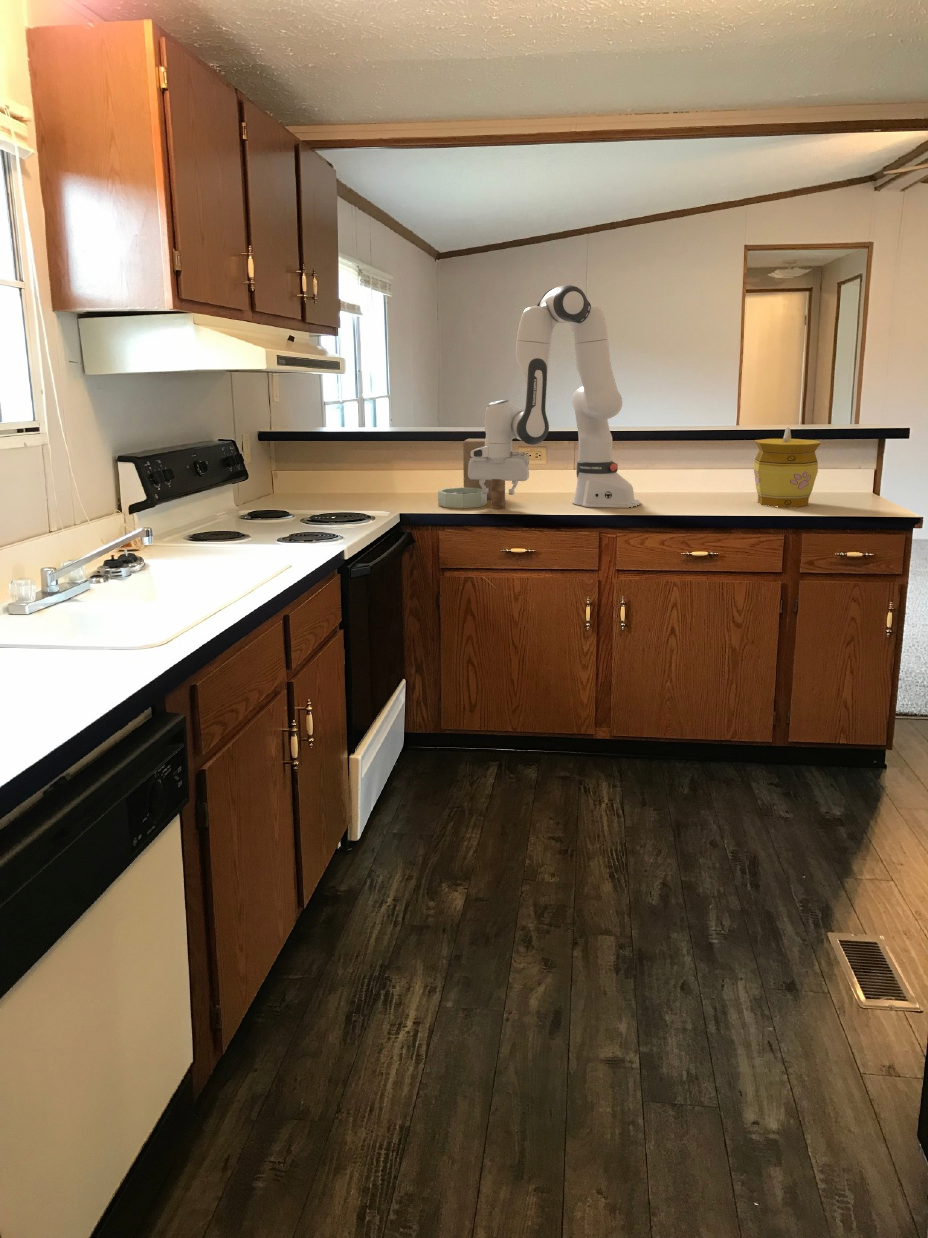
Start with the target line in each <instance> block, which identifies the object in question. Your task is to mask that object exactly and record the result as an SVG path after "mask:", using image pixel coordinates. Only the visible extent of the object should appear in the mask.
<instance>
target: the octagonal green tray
mask: <svg viewBox="0 0 928 1238" xmlns="http://www.w3.org/2000/svg"><path fill="white" fill-rule="evenodd" d="M455 492H470V493H468V494H455ZM487 501H488V499H487V494H483V489H480V488H464V487H462V486H461V487H450V488H448V487H447V488H442V489H440V490H438V491H437V502H438V503H437V505H438V506H440V507H444V508H452V509H453V508H454V509H455V508H456V509H469V508H480V507H483V506H486V505H487V504H488V502H487Z"/></svg>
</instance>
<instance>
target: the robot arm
mask: <svg viewBox="0 0 928 1238" xmlns="http://www.w3.org/2000/svg"><path fill="white" fill-rule="evenodd" d="M564 323H568V325H569V326H570V327H571V330H572V333H573V335H572V336H573V348H574V358H575V359H574V360H575V367H576V371H577V372H578V374H579V378H580V380H581V385H582V386H579V388H577V389H576V390H575V391H574V393H573V394H572V397H571V404H572V407H573V410H574V414H575V422H576V427H577V434H578V456H577V457H578V459H577V461H576V467H575V468H576V473H575V474H576V479H577V480H576V486H575V493H574V497H573V500H572V504H575V505H578V506H583V507H584V508H617V509H618V508H625V509H626V508H627V509H628V508H629V507H631V508H634V507H633V506H636V507H638V506H637V505H639V504H640V503H641V500H640V499H638V498H635V493H634V492H635V491H634V487H633V485H632V483H630V482H629V481H628V480H626V479H625V478H624V477H623V476H622V475H620V474H619V473H618V467H619V464H618V462H617V463H616V462H615V461H613V458H612V457H613V456H612V455H613V436H612V433H611V430H610V426H609V421H608V420H609V419H611V418H613V417H615V416H617V415H618V414H619V413H620V411H621V410H622V407H623V398H622V395H621V393H620V391H619V390H618V387H617V383H616V379H615V376H614V372H613V369H612V364H611V356H610V345H609V343H610V342H609V334H608V326H607V322H606V318H605V315H604V311H603V309H602V308H601V307H599V306H598V305H595V304H591V303H590V301H589V299H588V298H587V295H586V294H585V293H584V291H583V290H582V289H581V288H580V287H578V286H575V285H572V284H568V285H560V286H556V287H555V288H551V289H549V290H548V291H546V292H544V294H543V295H542V297H541V298H540V300H539V302H538V303H537V305H532V306H529V307H527V308H525V309H524V310H523V312H522V314H521V316H520V320H519V323H518V324H519V325H518V328H517V335H516V343H515V360H516V361H515V362H516V365H518V367H519V368H520V370H521V371H522V373H523V375H524V379H525V383H526V384H525V389H526V390H525V400H524V401H525V402H524V403H525V404H524V408H522V407H520V406H517V404H516V405H515V404H514V403H512V402H511V401H510V400H509V399H501V400H495V401H494V400H493V401H492V402H489V403H488V404H487V405H486V409H485V412H484V413H485V414H484V432H485V438H484V439H485V446H484V447H480V448H478V449H475V450H472V451H471V457H473V458H471V459H470V461H469V465H468V477H469V478H470V479H475V480H479V484H480V485H481V487H482V489H483V494H487V493H488V488H486V486H485V485H484V482H485V480H492V479H502V480H503V481H505V482H506V481H509V482H511V484H512V486H511V487H510V488H508V495H509V496H510V495H511V496H514V495H515V489H516V487H517V486H518V484H519V482H526V481H528V480H529V478H530V469H529V464H530V456H529V454H528V453H526V452H525V451H513V439H517V440H519V441H522V442H524V443H525V444H527V445H532V446H533V445H538V444H541V443H542V442H543V441H544V440H545V439H546V438H547V436H548V434H549V430H550V425H549V420H548V416H547V412H546V401H547V388H548V387H547V385H548V383H547V382H548V370H549V369H548V368H549V361H550V355H551V354H550V353H551V346H552V337H553V335H552V334H553V332H554V329H555V327H556V325H557V324H564ZM640 505H641V504H640ZM640 505H639V506H640Z"/></svg>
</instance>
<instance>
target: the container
mask: <svg viewBox="0 0 928 1238" xmlns="http://www.w3.org/2000/svg"><path fill="white" fill-rule="evenodd" d="M754 442H755V444H756V446H757V448H758V452H757V454H756V456H755V459H754V464H753V467H752V468H753V473H754V474H753V475H754V479H755V480H754V481H755V488H756V493H757V503H758V504H759V503H760V504H761V505H769V506H778V507H796V508H795V509H798V508H803V506H804V507H808V506H809V500H810V499H809V498H810V496H811V494H812V492H813V488H814V485H815V481H816V478H817V476H818V472H819V469H818V468H819V467H818V464H819V463H818V458H817V456H816V455H817V454H816V451H817V449H818V448H819V447H820V445H821V444H822V442H821V441H818V440H816V439H815V440H814V439H801V438H792V434H791V428H790V427H786V428H785V430H784V435H783V437H782V438H765V439H755V440H754ZM760 504H759V505H760ZM761 505H760V506H761ZM769 506H768V507H769Z"/></svg>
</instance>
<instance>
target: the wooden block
mask: <svg viewBox="0 0 928 1238" xmlns="http://www.w3.org/2000/svg"><path fill="white" fill-rule="evenodd" d="M484 446H485V438H467V439H465V440H464V441H463V443H462V447H463V448H462V449H463V450H462V452H463V456H462V458H463V461H462V462H463V464H462V465H463V470H462V471H463V488H480V489H482V487H481V485H480V484H479V480H475V479H470V478H469V477H468V465H469V461H470V459H471V458H473V457H471V451H472V450H475V449H478V448H480V447H484ZM484 485H485V486H486V488H488V493H487V500H492V480H485V482H484Z"/></svg>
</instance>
